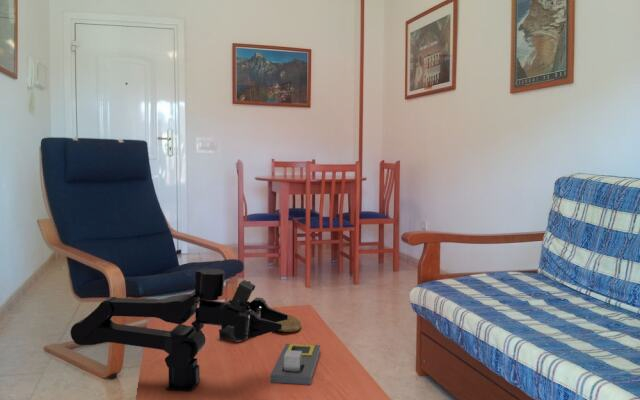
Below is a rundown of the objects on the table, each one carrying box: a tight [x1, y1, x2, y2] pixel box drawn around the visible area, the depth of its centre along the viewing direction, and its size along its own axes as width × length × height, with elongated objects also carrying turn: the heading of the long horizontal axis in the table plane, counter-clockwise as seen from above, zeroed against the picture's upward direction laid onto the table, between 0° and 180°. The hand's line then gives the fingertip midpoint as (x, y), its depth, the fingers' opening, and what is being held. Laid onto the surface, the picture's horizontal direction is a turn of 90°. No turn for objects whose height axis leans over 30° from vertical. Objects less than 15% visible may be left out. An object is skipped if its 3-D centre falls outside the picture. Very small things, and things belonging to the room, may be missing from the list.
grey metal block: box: [284, 350, 302, 373], centre depth 133 cm, size 4×4×6 cm
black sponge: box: [218, 327, 248, 343], centre depth 163 cm, size 16×8×4 cm, turn 143°
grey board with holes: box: [269, 343, 321, 386], centre depth 139 cm, size 10×21×2 cm, turn 173°
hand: (284, 321), depth 124 cm, fingers open, 9 cm apart
